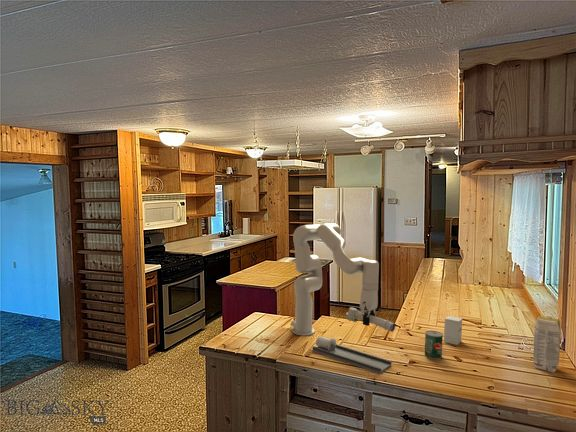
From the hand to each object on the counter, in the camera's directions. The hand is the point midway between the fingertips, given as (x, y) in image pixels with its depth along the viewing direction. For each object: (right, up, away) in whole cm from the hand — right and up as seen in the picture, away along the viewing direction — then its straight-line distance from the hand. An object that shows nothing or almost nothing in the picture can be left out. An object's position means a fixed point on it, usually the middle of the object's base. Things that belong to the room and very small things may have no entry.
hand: (368, 323), depth 186 cm
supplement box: (+49, -16, +20) cm, 55 cm away
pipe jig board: (-10, -15, -5) cm, 19 cm away
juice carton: (+77, -18, -11) cm, 80 cm away
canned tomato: (+31, -16, 0) cm, 35 cm away
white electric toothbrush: (0, -1, 0) cm, 1 cm away
